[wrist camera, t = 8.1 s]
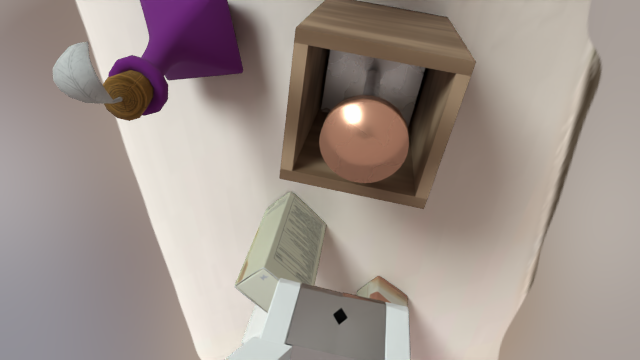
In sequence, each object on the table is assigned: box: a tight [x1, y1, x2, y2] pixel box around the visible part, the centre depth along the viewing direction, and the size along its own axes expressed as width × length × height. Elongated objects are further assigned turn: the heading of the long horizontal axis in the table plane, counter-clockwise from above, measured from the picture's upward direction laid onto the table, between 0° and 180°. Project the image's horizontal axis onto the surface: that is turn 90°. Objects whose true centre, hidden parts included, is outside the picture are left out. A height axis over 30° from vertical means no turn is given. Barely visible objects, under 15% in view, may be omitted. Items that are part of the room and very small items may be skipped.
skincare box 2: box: [357, 276, 408, 308], centre depth 47 cm, size 5×4×10 cm
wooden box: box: [280, 0, 476, 209], centre depth 31 cm, size 10×10×14 cm
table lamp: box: [319, 49, 425, 183], centre depth 28 cm, size 8×8×13 cm
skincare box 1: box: [235, 192, 326, 313], centre depth 42 cm, size 6×4×12 cm
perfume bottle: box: [53, 0, 243, 121], centre depth 30 cm, size 8×8×18 cm
